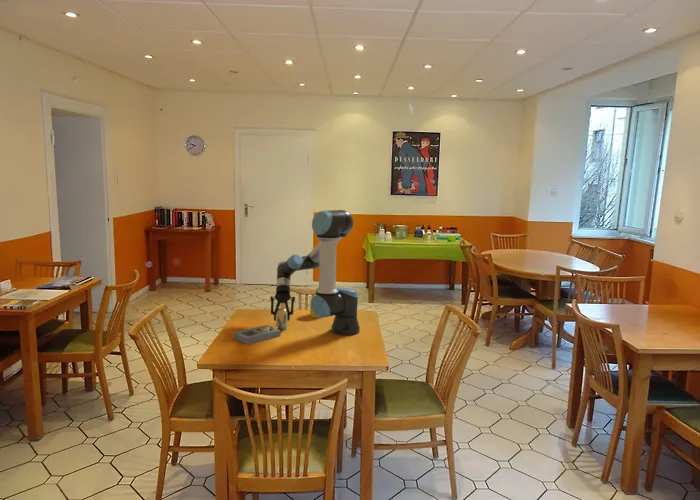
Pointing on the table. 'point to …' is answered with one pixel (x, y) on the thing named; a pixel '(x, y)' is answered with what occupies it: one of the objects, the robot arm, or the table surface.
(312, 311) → the tape roll
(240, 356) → the table surface
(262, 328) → the wooden plug
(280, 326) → the brass cylinder
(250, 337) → the jig plate
